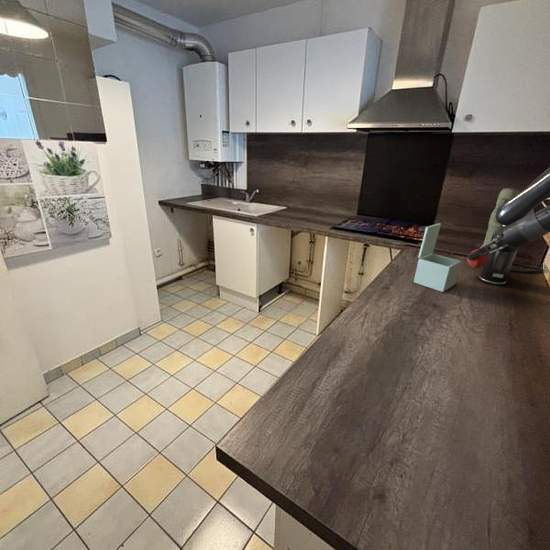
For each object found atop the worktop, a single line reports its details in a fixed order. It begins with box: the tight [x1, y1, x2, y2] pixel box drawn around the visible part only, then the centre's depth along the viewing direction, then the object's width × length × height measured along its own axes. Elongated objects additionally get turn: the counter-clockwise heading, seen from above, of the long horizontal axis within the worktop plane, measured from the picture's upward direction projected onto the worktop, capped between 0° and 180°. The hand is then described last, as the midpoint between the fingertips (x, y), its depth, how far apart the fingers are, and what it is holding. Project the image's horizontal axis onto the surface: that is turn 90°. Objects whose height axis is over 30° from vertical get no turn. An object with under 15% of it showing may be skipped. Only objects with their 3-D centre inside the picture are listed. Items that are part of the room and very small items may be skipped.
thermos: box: [480, 187, 520, 247], centre depth 141 cm, size 9×12×35 cm
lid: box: [417, 222, 442, 259], centre depth 118 cm, size 12×12×5 cm
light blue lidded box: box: [413, 252, 462, 293], centre depth 117 cm, size 12×12×10 cm
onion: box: [466, 246, 487, 270], centre depth 102 cm, size 6×6×8 cm
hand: (472, 256), depth 103 cm, fingers closed on onion, 5 cm apart
